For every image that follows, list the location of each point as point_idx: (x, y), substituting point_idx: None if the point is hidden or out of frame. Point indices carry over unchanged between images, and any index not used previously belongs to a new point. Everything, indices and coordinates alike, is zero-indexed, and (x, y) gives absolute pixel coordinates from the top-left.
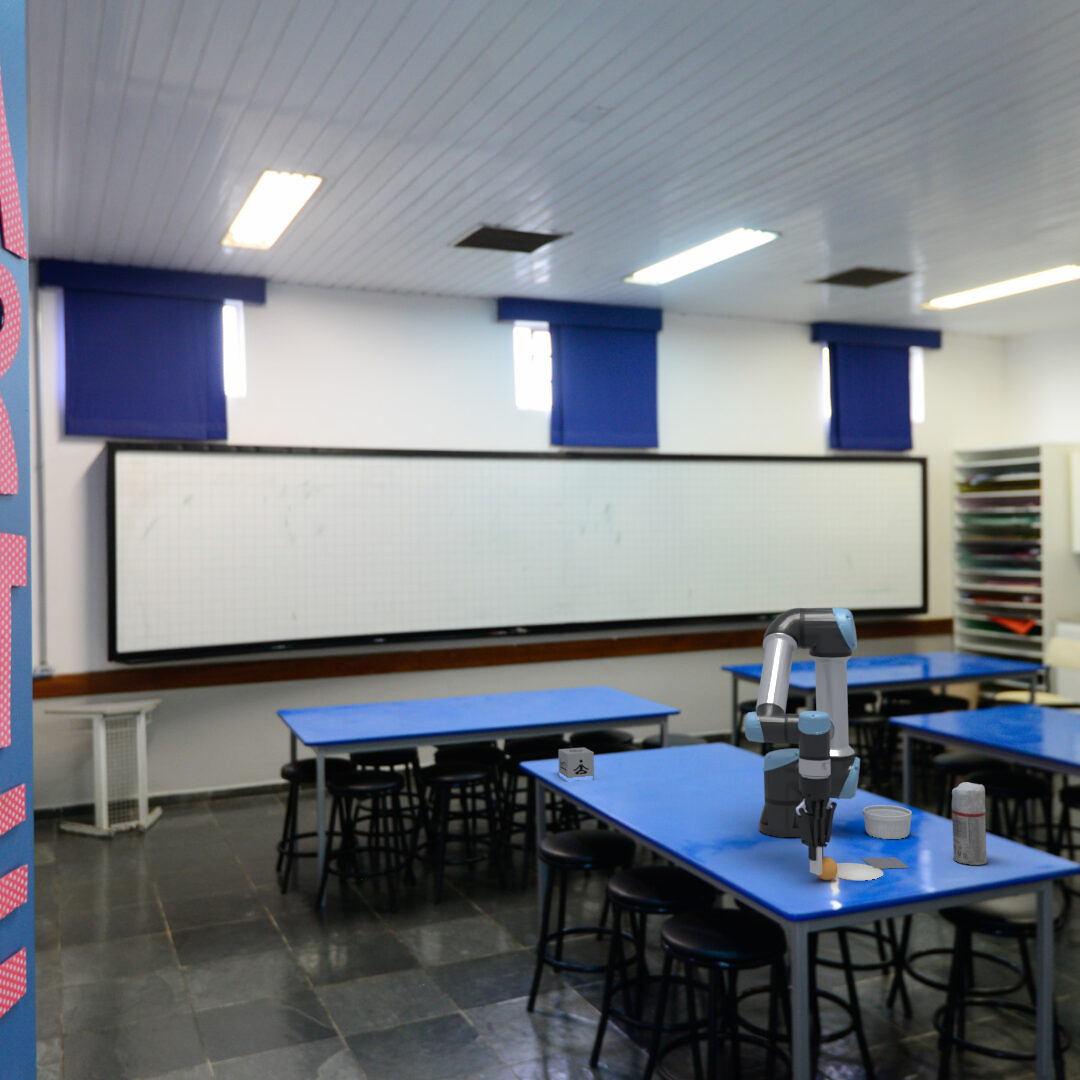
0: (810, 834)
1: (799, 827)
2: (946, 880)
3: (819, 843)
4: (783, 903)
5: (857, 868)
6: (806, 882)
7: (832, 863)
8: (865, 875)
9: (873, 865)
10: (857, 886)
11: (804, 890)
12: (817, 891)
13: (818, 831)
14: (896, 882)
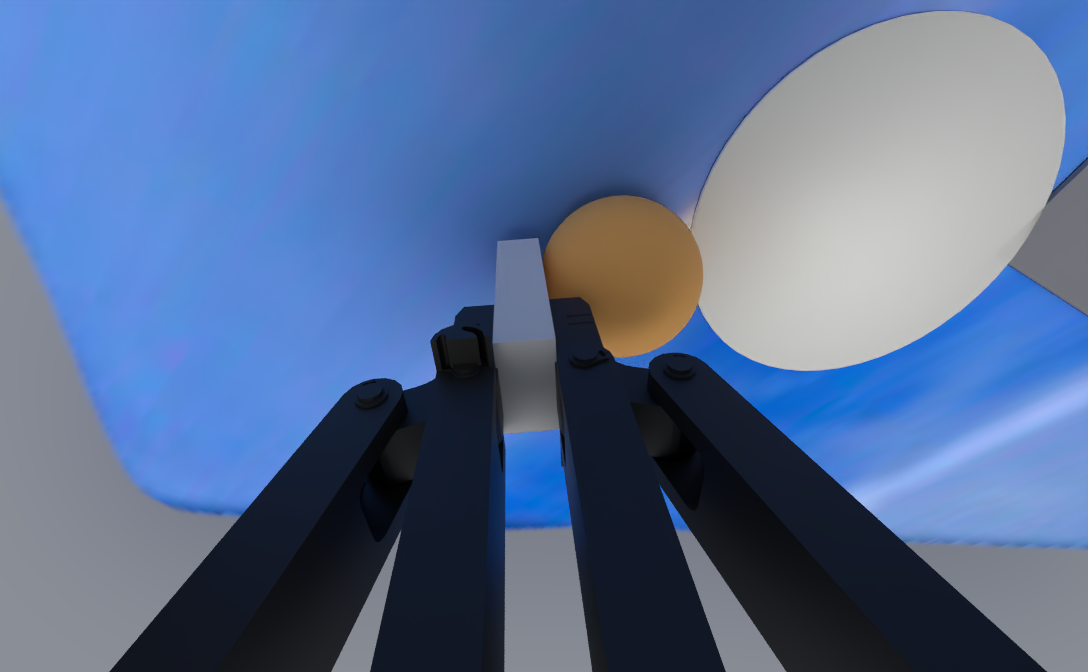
0: (368, 579)
1: (187, 601)
2: (984, 489)
3: (559, 426)
4: (149, 406)
5: (937, 199)
6: (464, 224)
7: (625, 356)
8: (828, 315)
9: (1063, 206)
10: None
11: (362, 322)
12: (419, 362)
13: (574, 528)
14: (831, 430)
